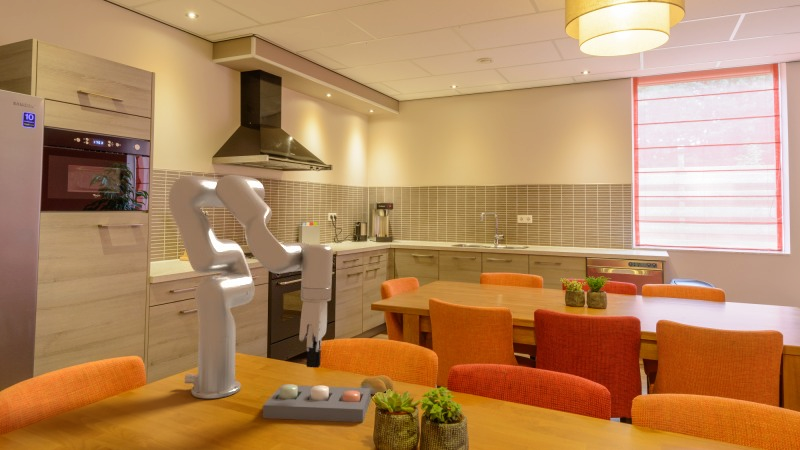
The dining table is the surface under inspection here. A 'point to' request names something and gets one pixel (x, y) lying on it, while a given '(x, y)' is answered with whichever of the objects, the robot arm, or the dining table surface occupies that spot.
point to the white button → (320, 393)
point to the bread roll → (377, 383)
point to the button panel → (318, 406)
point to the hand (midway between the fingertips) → (313, 366)
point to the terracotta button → (351, 396)
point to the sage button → (288, 391)
